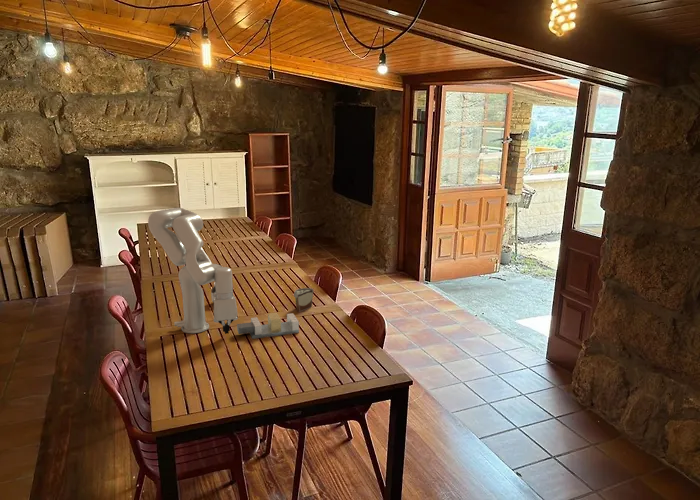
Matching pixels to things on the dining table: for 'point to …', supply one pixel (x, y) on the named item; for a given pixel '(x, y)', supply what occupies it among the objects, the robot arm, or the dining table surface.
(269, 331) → the vise
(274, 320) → the brass block
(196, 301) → the robot arm
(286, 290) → the dining table surface
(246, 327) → the vise jaw
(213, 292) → the spread jar
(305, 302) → the food container
